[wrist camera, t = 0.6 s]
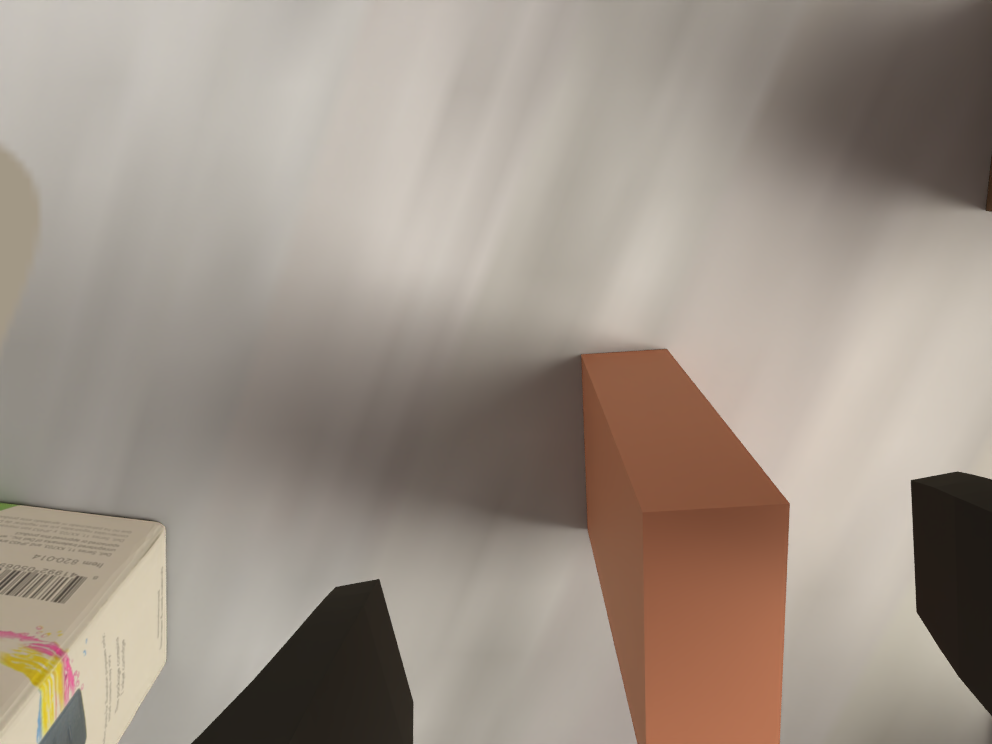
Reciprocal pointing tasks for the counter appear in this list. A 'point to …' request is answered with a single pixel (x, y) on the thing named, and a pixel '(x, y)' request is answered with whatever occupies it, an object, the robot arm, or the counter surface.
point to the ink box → (78, 623)
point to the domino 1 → (684, 554)
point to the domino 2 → (989, 191)
